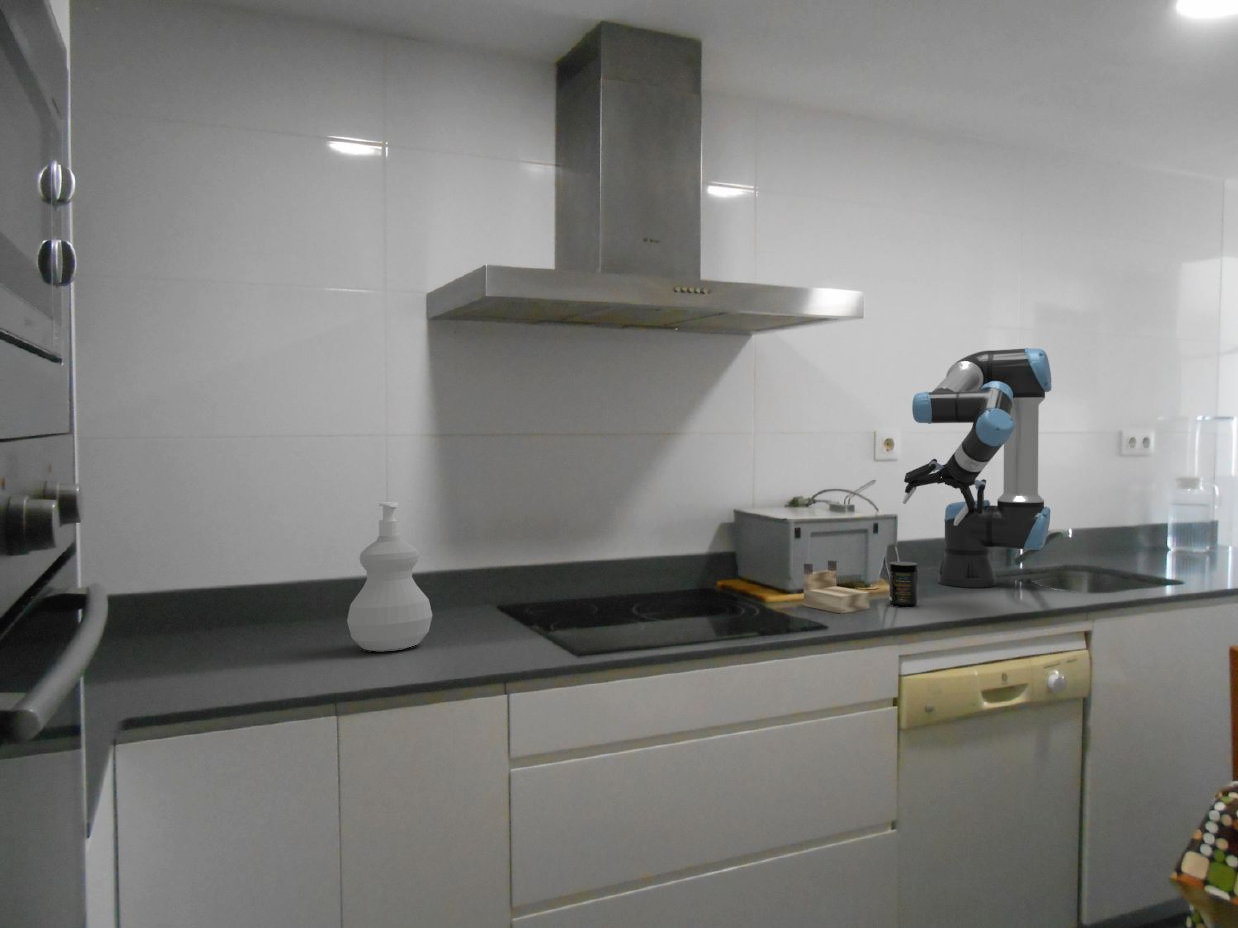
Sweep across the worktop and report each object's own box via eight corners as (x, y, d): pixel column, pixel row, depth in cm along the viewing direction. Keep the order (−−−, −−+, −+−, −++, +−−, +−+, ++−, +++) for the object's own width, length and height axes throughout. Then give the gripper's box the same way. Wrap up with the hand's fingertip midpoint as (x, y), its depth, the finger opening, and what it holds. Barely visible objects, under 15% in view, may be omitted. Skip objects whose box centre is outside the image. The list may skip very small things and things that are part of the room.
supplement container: (921, 607, 220) (922, 565, 220) (894, 608, 220) (894, 565, 219) (911, 602, 227) (911, 561, 226) (884, 603, 226) (884, 561, 226)
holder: (831, 601, 229) (831, 560, 229) (869, 608, 219) (869, 565, 219) (803, 605, 223) (803, 563, 223) (840, 613, 214) (841, 569, 213)
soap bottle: (355, 660, 173) (353, 506, 171) (341, 647, 183) (338, 502, 181) (440, 648, 181) (438, 502, 180) (422, 637, 191) (420, 498, 190)
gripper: (915, 450, 213) (881, 501, 230) (1017, 493, 210) (974, 541, 227) (921, 429, 218) (887, 480, 235) (1021, 470, 215) (979, 519, 232)
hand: (930, 510), depth 231 cm, fingers open, 13 cm apart
